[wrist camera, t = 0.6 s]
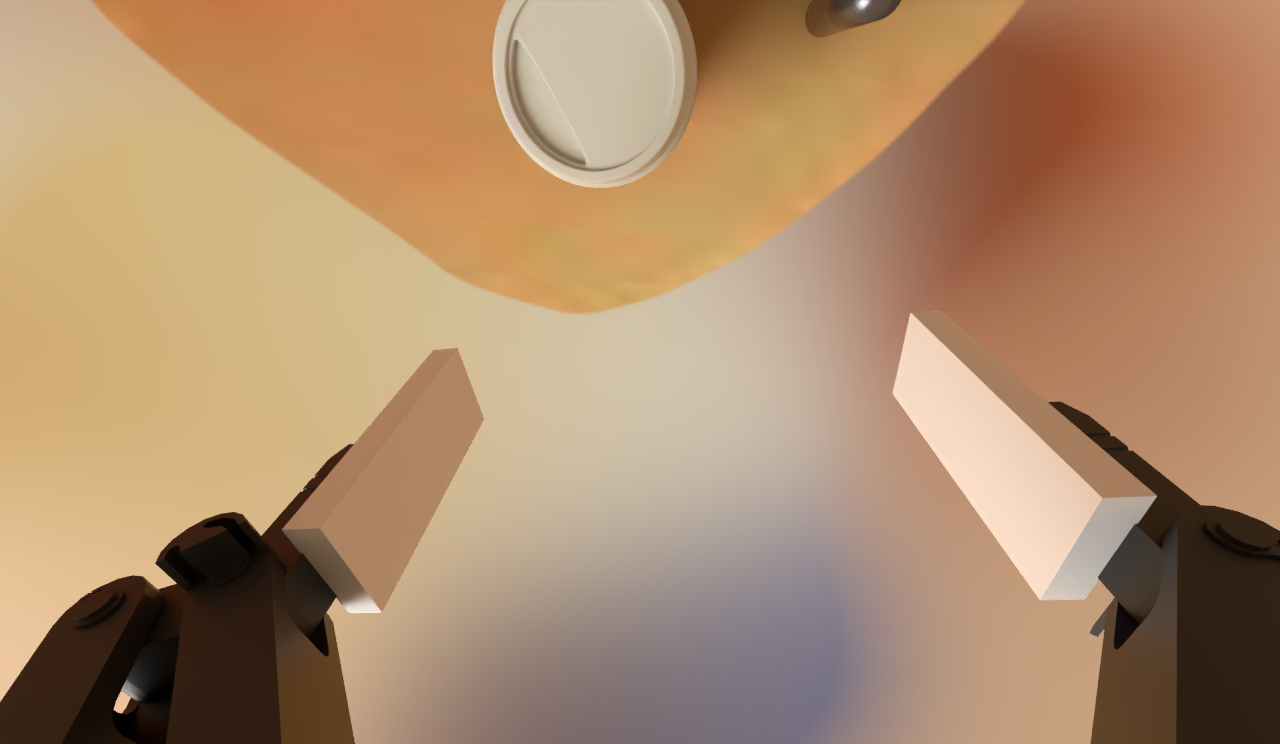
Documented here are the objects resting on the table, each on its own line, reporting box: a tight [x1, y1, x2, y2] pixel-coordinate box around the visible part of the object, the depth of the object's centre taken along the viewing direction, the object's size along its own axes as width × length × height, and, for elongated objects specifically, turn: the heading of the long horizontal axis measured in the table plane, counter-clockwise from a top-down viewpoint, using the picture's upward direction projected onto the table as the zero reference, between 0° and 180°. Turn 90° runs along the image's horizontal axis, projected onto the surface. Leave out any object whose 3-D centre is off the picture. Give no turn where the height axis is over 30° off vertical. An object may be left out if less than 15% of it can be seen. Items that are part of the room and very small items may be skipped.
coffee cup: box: [493, 0, 697, 188], centre depth 23 cm, size 8×9×12 cm
